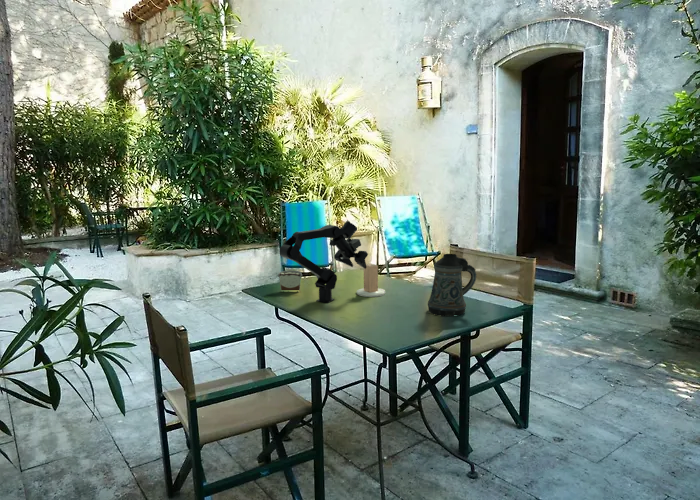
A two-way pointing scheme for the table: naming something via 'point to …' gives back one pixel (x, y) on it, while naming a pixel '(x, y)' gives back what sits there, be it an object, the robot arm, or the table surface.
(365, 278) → the tan tall block
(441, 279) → the beer stein
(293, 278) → the food container
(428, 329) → the table surface
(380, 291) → the cream plate
